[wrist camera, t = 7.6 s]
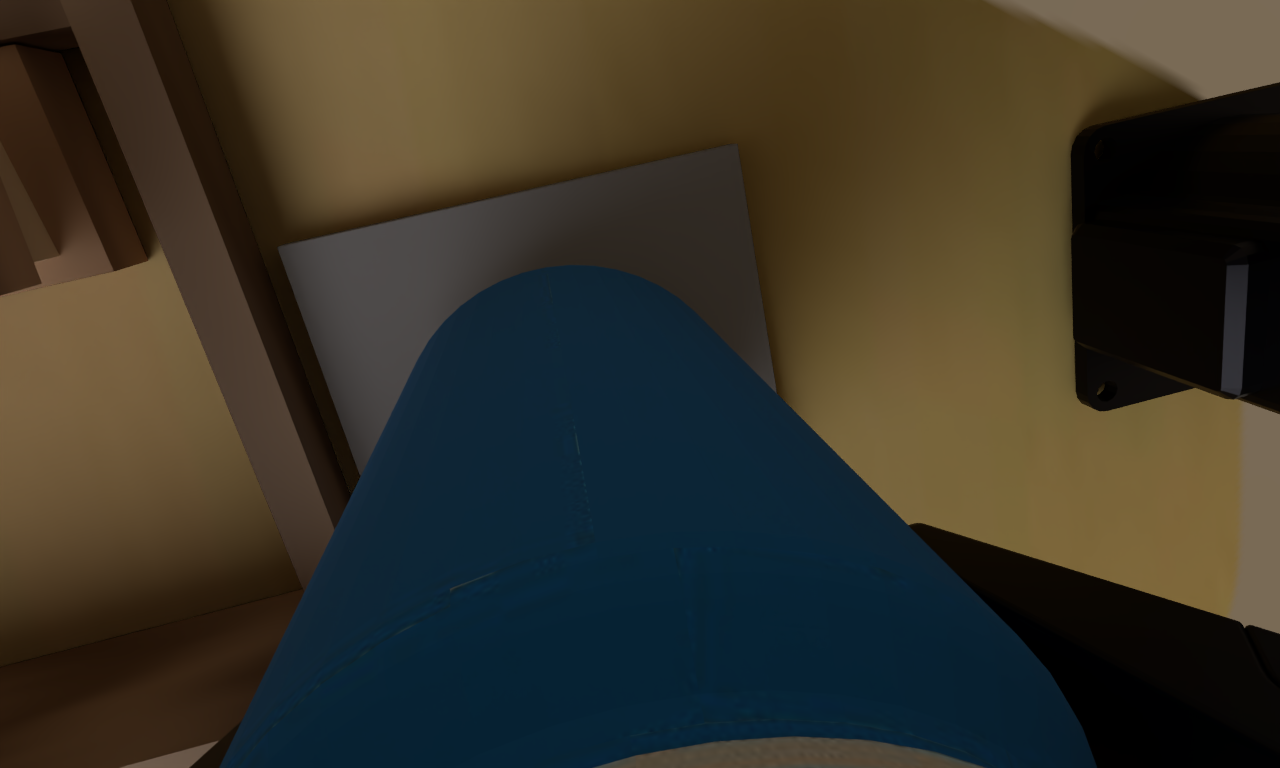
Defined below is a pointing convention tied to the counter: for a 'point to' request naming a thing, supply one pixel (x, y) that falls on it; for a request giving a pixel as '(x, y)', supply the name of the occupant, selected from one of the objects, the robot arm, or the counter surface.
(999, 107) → the counter surface
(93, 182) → the offcut stack
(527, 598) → the beverage can
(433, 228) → the rubber mat
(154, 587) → the counter surface
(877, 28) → the counter surface
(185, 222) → the rack
